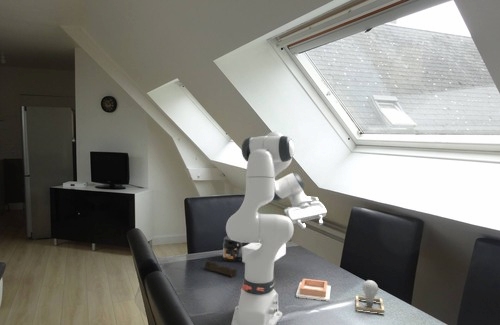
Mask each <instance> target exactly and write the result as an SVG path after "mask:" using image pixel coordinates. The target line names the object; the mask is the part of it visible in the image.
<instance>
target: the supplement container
mask: <svg viewBox="0 0 500 325" xmlns="http://www.w3.org/2000/svg"><path fill="white" fill-rule="evenodd" d="M242 247H243V243H242V242H237V241H233V240H231V239H230V238H229V237H228V235H226V236H225V237H224V238H223V244H222V248H223V249H222V259H223V260H224V261H225V262H226V261H227V262H239V261H241V260H242Z"/></svg>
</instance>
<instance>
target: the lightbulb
mask: <svg viewBox="0 0 500 325" xmlns="http://www.w3.org/2000/svg"><path fill="white" fill-rule="evenodd" d="M361 288H362V292H363V293H364V297H366V302H365V303H366V304H365V305H366V307H368V306H369V308H373V306H374V303H373V301H374V298H376V295H377V294H378V291H379V286H378V284H377V283H376V282H375V281H374V280H372V279H371V280H370V279H367V280H366V281H364V282H363V283H362V287H361Z"/></svg>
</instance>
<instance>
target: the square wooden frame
mask: <svg viewBox="0 0 500 325" xmlns="http://www.w3.org/2000/svg"><path fill="white" fill-rule="evenodd" d="M358 299H360V300H366V297H365V295H364V296H362V295H355V308H356V309H355V310H363V311H370V312H377V313H384V314H385V311H386V310H385V306H384V302H383V298H378V297H374V301H376V302H380V304H379V306H380V305H381V307H380V308H378V307H377V308H375V307H368V306H361V305H359V304H360V303H359V302H360V301H359V300H358Z"/></svg>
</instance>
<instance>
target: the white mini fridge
mask: <svg viewBox="0 0 500 325" xmlns="http://www.w3.org/2000/svg"><path fill="white" fill-rule="evenodd" d="M261 245H262V244H261V243H260V238H259V243H247V244H246V245H244V246H242V252H241V256H242V257H241V262H242V263H243V264H245V259H246V257H247V255H248V254H249V253H251V252H252V251H255V250H257V249H258V248H260V246H261ZM286 245H287V242H286V243H285V244H284V245H283V246H282V247H281V248H280V249H279V251H278V252H277V254H276V257H275V261H274V262H276V261H278V260H279V259H280V258H282V257H283V256H285V255H286V253H287V246H286Z"/></svg>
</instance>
